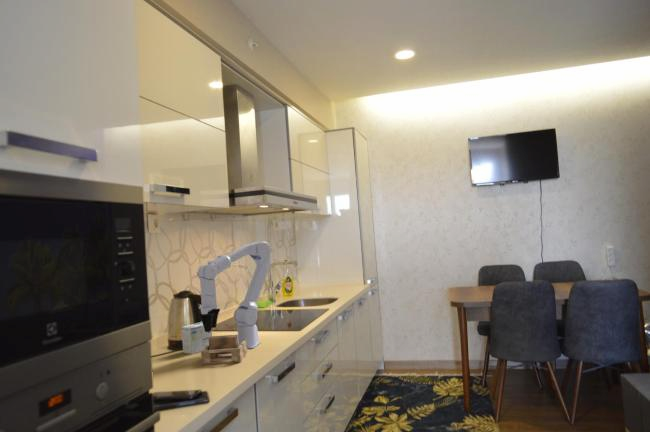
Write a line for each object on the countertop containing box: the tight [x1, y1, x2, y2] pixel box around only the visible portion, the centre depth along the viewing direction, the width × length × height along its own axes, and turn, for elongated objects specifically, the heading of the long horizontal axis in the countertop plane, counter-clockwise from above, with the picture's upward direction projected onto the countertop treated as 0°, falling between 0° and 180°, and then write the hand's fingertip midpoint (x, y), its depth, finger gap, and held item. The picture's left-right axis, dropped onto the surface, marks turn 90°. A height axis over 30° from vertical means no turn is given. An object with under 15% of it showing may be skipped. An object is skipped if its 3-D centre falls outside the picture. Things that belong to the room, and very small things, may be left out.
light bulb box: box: [180, 321, 213, 355], centre depth 196 cm, size 11×7×11 cm, turn 141°
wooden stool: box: [200, 340, 248, 366], centre depth 178 cm, size 14×14×5 cm
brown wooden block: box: [209, 334, 238, 355], centre depth 178 cm, size 10×4×6 cm, turn 89°
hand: (210, 329), depth 186 cm, fingers open, 7 cm apart
